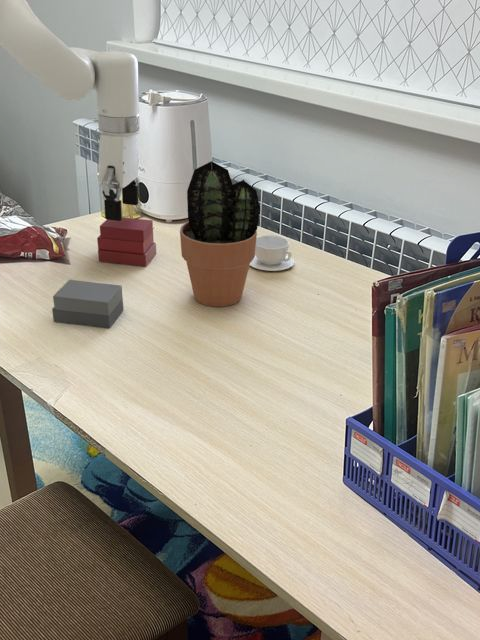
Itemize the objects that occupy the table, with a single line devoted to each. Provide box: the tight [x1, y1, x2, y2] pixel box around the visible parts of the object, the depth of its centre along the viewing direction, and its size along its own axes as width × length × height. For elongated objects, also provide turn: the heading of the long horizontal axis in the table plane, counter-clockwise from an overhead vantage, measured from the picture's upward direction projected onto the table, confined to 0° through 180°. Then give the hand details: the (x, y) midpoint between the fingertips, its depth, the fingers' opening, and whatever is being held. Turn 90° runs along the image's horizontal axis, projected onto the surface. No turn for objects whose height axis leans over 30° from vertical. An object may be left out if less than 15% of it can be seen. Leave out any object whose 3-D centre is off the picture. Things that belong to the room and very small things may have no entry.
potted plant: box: [179, 160, 261, 307], centre depth 123 cm, size 14×14×25 cm
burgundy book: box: [99, 216, 154, 242], centre depth 140 cm, size 9×6×2 cm, turn 80°
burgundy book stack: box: [96, 231, 157, 268], centre depth 142 cm, size 10×7×5 cm
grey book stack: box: [51, 279, 124, 329], centre depth 119 cm, size 10×7×5 cm
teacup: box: [249, 234, 295, 272], centre depth 142 cm, size 10×10×5 cm
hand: (122, 211), depth 138 cm, fingers open, 9 cm apart
